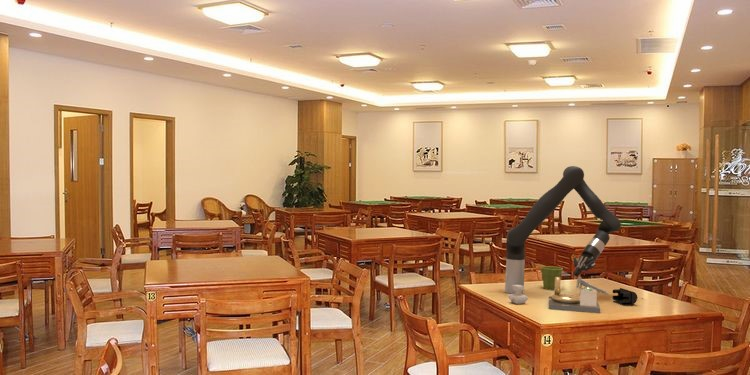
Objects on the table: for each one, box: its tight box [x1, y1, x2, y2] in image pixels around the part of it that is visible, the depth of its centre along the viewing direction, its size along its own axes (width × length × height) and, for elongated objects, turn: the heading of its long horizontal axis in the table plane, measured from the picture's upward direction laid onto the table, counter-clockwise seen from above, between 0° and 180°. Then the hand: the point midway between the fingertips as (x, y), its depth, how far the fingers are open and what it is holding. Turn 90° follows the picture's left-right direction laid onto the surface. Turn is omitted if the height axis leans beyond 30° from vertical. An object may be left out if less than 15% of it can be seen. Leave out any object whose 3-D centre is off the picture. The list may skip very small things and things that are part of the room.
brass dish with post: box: [551, 276, 580, 303], centre depth 299 cm, size 13×13×10 cm
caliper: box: [576, 276, 609, 295], centre depth 338 cm, size 20×1×6 cm, turn 30°
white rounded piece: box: [508, 285, 529, 305], centre depth 300 cm, size 9×7×8 cm
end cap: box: [612, 287, 638, 307], centre depth 305 cm, size 10×7×7 cm
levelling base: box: [548, 286, 601, 314], centre depth 295 cm, size 22×20×10 cm
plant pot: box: [539, 265, 564, 291], centre depth 340 cm, size 12×12×11 cm
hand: (575, 275), depth 310 cm, fingers closed
